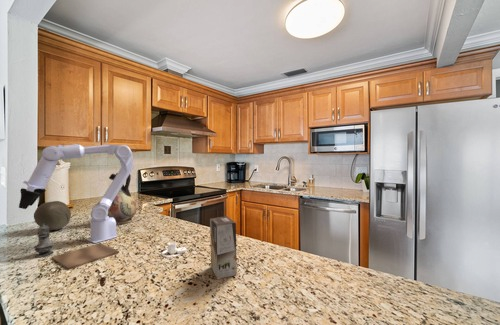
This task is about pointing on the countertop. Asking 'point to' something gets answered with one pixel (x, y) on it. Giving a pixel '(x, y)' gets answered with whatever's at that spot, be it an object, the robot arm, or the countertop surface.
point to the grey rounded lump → (53, 215)
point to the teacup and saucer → (173, 249)
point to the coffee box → (223, 247)
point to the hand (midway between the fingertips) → (25, 206)
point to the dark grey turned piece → (44, 242)
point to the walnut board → (84, 255)
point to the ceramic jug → (122, 204)
